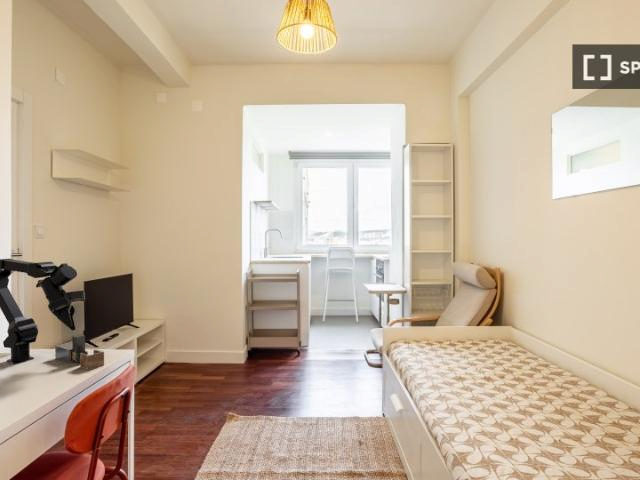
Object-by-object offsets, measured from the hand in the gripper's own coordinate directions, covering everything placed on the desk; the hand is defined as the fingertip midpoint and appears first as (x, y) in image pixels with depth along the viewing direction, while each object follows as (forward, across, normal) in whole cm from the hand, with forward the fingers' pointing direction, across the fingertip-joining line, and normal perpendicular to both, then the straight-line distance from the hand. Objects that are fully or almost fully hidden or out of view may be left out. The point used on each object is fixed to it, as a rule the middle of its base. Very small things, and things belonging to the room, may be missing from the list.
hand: (72, 328), depth 135 cm
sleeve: (+8, +14, +6) cm, 17 cm away
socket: (+16, +2, 0) cm, 16 cm away
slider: (+8, +11, +5) cm, 15 cm away
